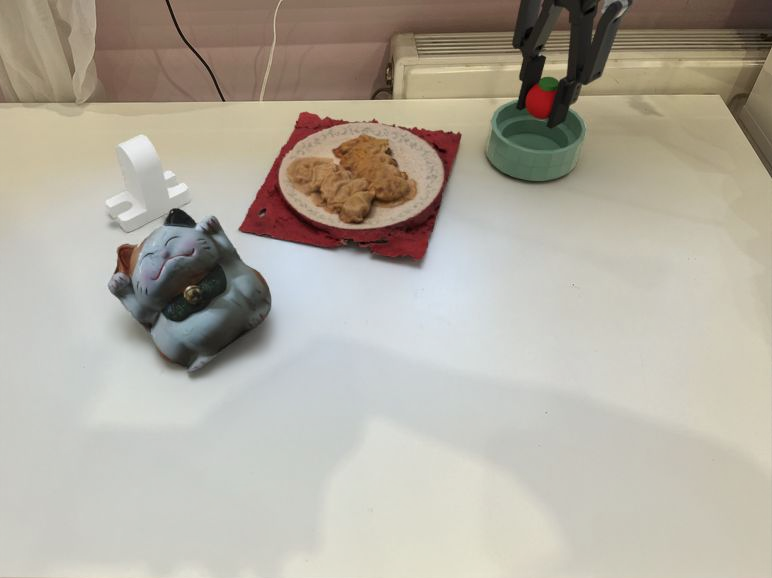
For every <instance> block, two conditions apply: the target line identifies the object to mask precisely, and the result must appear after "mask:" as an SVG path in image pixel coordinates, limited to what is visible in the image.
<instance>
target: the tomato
mask: <svg viewBox="0 0 772 578" xmlns="http://www.w3.org/2000/svg"><path fill="white" fill-rule="evenodd" d="M558 84H559V80H558V79H557V78H556V77H553V76H543V77H541V79H540V81H539V83H537V84H536V85H534V86H533V87H532V88H531V89H530V90H529V92H528V94H527V96H526V108H527V110H528V112H529V113H530V115H532V116H533V117H535V118H537V119H548V118H549V115H550V112H551V108H552V105H553V101H554V98H555V94H556V91H557V87H558Z"/></svg>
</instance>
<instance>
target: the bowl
mask: <svg viewBox="0 0 772 578" xmlns="http://www.w3.org/2000/svg"><path fill="white" fill-rule="evenodd" d="M517 102H518V99H513V100H511V101H508V102H506V103H504V104H502V105H500V106H499V107H498V108H497V109H496V110H495V111H494V112H493V114H492V117H491V119H490V123H489V127H488V133H487V137H486V142H485V143H486V144H485V154H486V157H487V159H488V161H489V162H490V163H491V164H492V165H493V167H495V168H496V169H498V170H499V171H500V172H502V173H504V174H506V175H507V176H510V177H512V178H516V179H520V180H525V181H531V182H532V181H533V182H537V181H538V182H545V181H550V180H551V181H552V180H555V179H560V178H561V177H563V176H565V175H567V174H569V173H570V172H571V171H572V170H573V169H574V168H575V167H576V165H577V162H578V159H579V156H580V154H581V151H582V147H583V145H584V141H585V139H586V135H587V131H588V130H587V126H586V122H585V120H584V119H583V118H582V116H581V115H580V114H579V113H578V112H577V111H576V110H574V109H573V108H572V107H569V110H568V113H567V116H566V120H565V121H564V122H563V123H561V124H559V125H557V126H555V127H554V128H552V129H550V128H548V127H547V122H548V119H549V118H548V119H537V118H535V117H533V116H532V115H530V113H529V112H528V110H527V108H525V109H523V110H521V111H520V110H518V109H516V106H517Z"/></svg>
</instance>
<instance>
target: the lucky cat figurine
mask: <svg viewBox="0 0 772 578" xmlns="http://www.w3.org/2000/svg"><path fill="white" fill-rule="evenodd" d="M116 254H117V259H116V267H115V269H114V272H113V274H112V276H111V277H110V280H109V281H108V282H107V287H108V289H109V292H110V293H111V295H113V296H114V297H115V298H117V299H118V300H119V302H120V303H121V304H122V306H123V307H124V308H125V310H126V311H128V312H129V313H130V315H131V317H132V318H133V319H135V320H136V321H137V322H138V323H139V325H141V326H142V327H143V328H144V330H145V332H147V333H148V335H149V336H150V337H151V339H152V341H153V343H154V346H155V348H156V350H157V352H158V354H159V355H160V357H162V358H163V359H164V360H166V361H167V362H169V363H172V364H175V365H178V366H180V367H182V368H184V369H187V373H190V372H191V373H192V372H194V371H196V370H198V369H201V368H203V367H205V366H206V365H208V364H209V362H211V361H212V360H213V359H214V358H215V357H216V356H218V354H220V353H221V352H222V351H223V350H225V349H226V348H227V347H229V346H231V345H233V343H235V342H237V341H238V340H240V339H241V338H243V337H244V336H246V335H248V334H249V333H251V332H252V331H253V330H256V328H257V327H259V326H260V325H261V324H262V323H263V322H264V320H265V319H266V318H268V317H269V314H270V312H271V309H272V301H273V300H272V293H271V290H270V287H269V284H268V282H267V280H266V279H265V277H264V276H263V275H262V273H261V272H260V271H258V270H257V269H256V268H254V267H251V266H249V265H248V264H247V263H246V262H245V261H243V259H242V258H241V256H240V255H239V253H238V250H237V248H236V247H235V246H234V244H233V242H232V241H231V240H230V238H229V237H228V236H227V234H226V233H225V230H224V228H223V227H222V225H221V223H220V221H219V219H218V218H217V217H216V216H215V215H212V214H210V215H207V216H205V217H204V218H203V219H202V220H200V221H198V222H196V220H195V219H194V218H193V217H192V216H191V215H190V214H188V212H186V211H185V210H183V209H181V208H180V207H178V208H173V209H171V210H170V212H169V213H167V216H166V218H165V219H164V221H163V223H162V225H161V226H159V227H158V228H156V229H154V230H152V232H151V233H150V234H149V235H148V236H146V238H144V239H143V241H141V243H140V244H138V243H137V244H130V243H124V244H121V245H119V246H118V247H117V248H116Z"/></svg>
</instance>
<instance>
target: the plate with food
mask: <svg viewBox="0 0 772 578" xmlns="http://www.w3.org/2000/svg"><path fill="white" fill-rule="evenodd" d="M462 135H463V134H462V133H460V131H457V133H455V132H453V131H452V130H450V131H444V130H443V129H436V130H430V129H425V128H423V127H422V128H421V129H420V128H418V127H417V126H414V127H412V128H411V127H406V126H400V125H398V126H396V123H393V124H391V125H390V124H386V123H379V121H378V120H376V119H375V118H373V119H372V120H368V121H365V120H363V121H358V120H356V121H349V120H344V119H343V118H341V119H334V118H331V117H329V116H328V115H327V116H325V117H324V118H323V119H322V118H321V117H320V116H319V115H318V114H317V113H312V112H308V111H302V112H299V115H298V118H297V120H295V124H294V129H293V130H292V132H291V134H290V136H289V138H288V140H287V141H286V143H285V144H284V145H282V146H281V148H280V150H279V154H278V156H277V157H275V158H274V161H273V164H272V166H271V168H270V169H269V172H268V173H267V175H266V178H265V179H264V182H263V184H261V185H260V188H259V189H258V191H257V192H256V195H255V198H254V200H253V201H252V202H251V204H250V207H248V209H247V213H246V214H245V218H244V219H243V221H242V223H241V224H240V225H239V227H238V231H243V232H244V233H251V234H256V235H259V236H262V235H264V234H265V235H269V236H270V237H271V238H273V239H279V240H280V239H281V240H283V241H286V240H287V241H291V242H292V241H293V242H296V243H297V242H298V243H304V244H308V245H309V244H310V245H313V246H320V247H324V248H336V247H339V246H346V245H348V241H349V240H350V239H351V241H353V242H355V243H358V245H359V247H360V248H367V247H369V249H370V250H369V252H370V254H376V255H381V256H383V257H388V256H389V257H391V258H396V257H399V256H401V257H403V258H405V257H406V256H410V257H411V258H412V259H413V261H418V260H419V261H420V260H422V259H423V258H424V257H425V255H426V252H427V249H428V248H429V238H430V234H431V233H433V232H434V229H435V227H434V226H436V225H435V224H436V221H437V217H438V214H439V211H440V207H441V204H442V202H443V200H444V197H445V196H444V191H445V187H447V186H448V183H449V180H450V176H451V172H452V169H453V165H454V162H455V159H456V156H457V153H458V151H459V147H460V143H461V140H462V137H463V136H462ZM262 210H265V214H264V215H262V216H260V212H261V211H262ZM383 240H384V241H385V242H381V241H383ZM376 241H380V242H381V243H379V242H377V243H376ZM387 241H388V242H387Z"/></svg>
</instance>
